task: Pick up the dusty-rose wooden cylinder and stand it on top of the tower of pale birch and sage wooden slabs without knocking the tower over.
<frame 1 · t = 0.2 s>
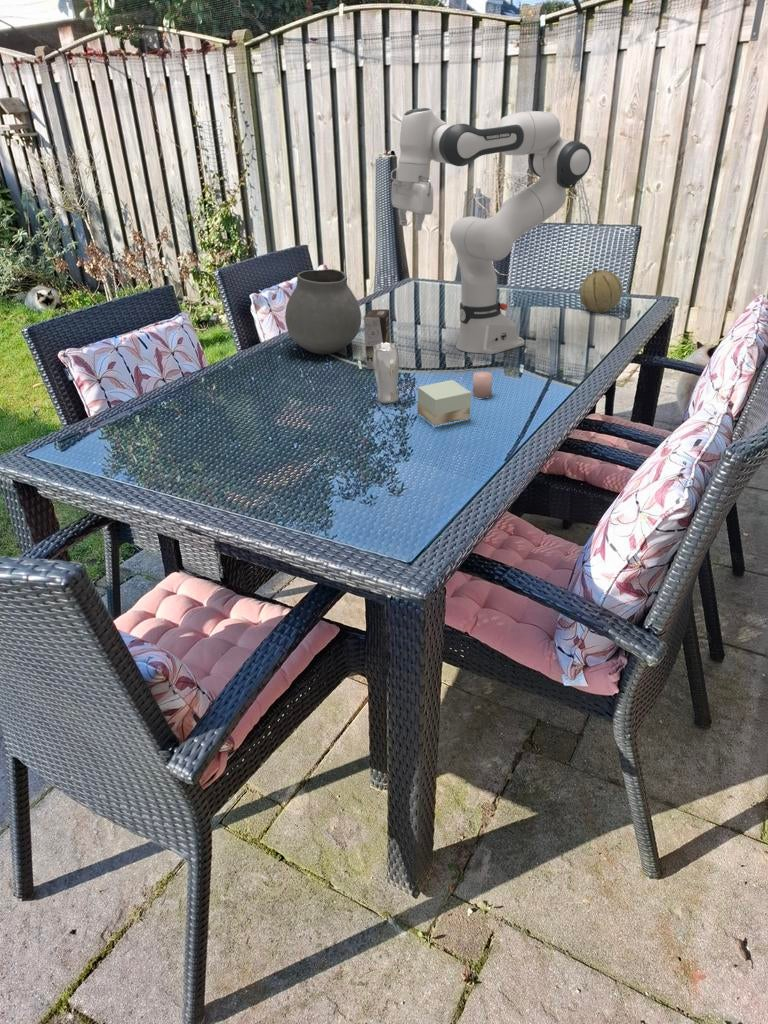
hand: (410, 228, 201), 39 cm above the table, tool pointing down, fingers open, 8 cm apart
tower base: (443, 418, 181), on the table, touching tower top
beer glass: (387, 400, 193), on the table
ceramic pot: (326, 351, 232), on the table
coffee box: (379, 365, 218), on the table
tower top: (444, 404, 179), point 4 cm above the table, touching tower base
cantaloupe: (598, 312, 257), on the table
rose cylinder: (482, 395, 192), on the table
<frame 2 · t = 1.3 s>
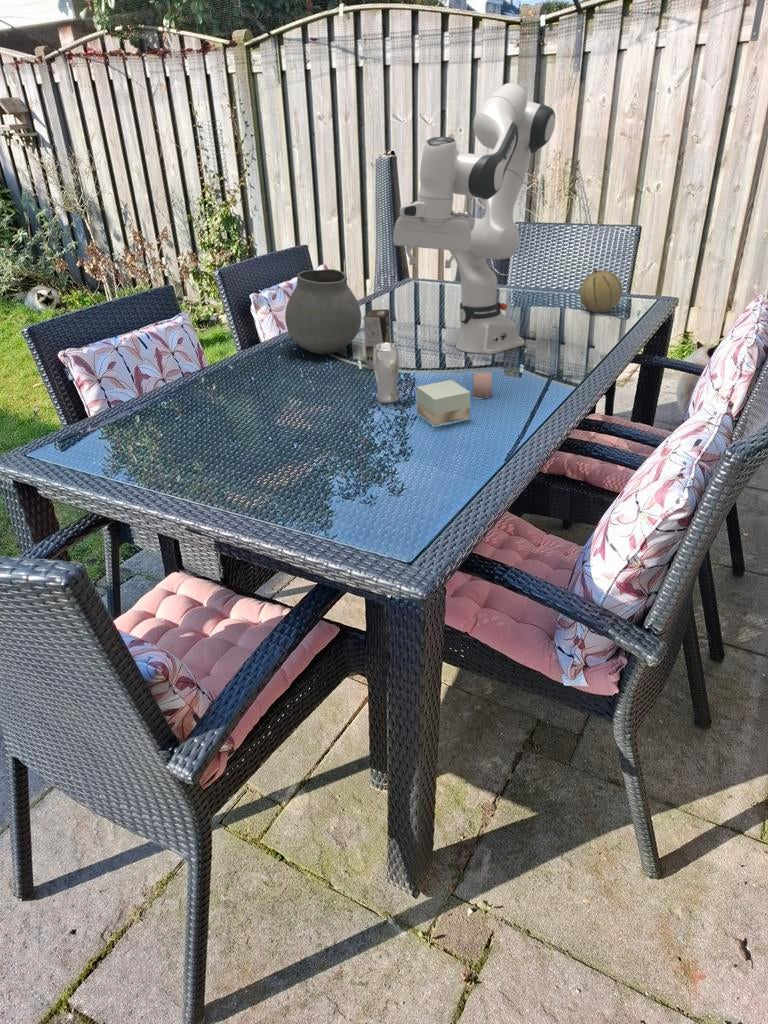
hand: (429, 266, 184), 33 cm above the table, tool pointing down, fingers open, 8 cm apart
nothing on the table moved.
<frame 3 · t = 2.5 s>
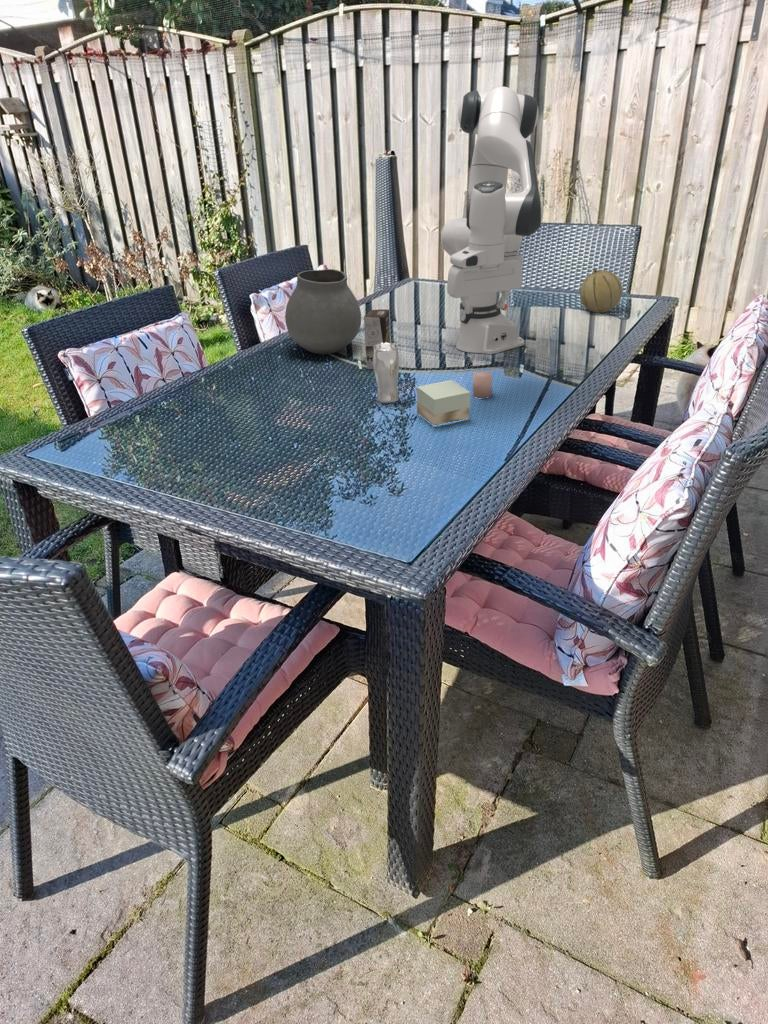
hand: (484, 310, 180), 23 cm above the table, tool pointing down, fingers open, 8 cm apart
tower base: (442, 418, 181), on the table
tower top: (443, 404, 179), point 4 cm above the table
everything else where it was.
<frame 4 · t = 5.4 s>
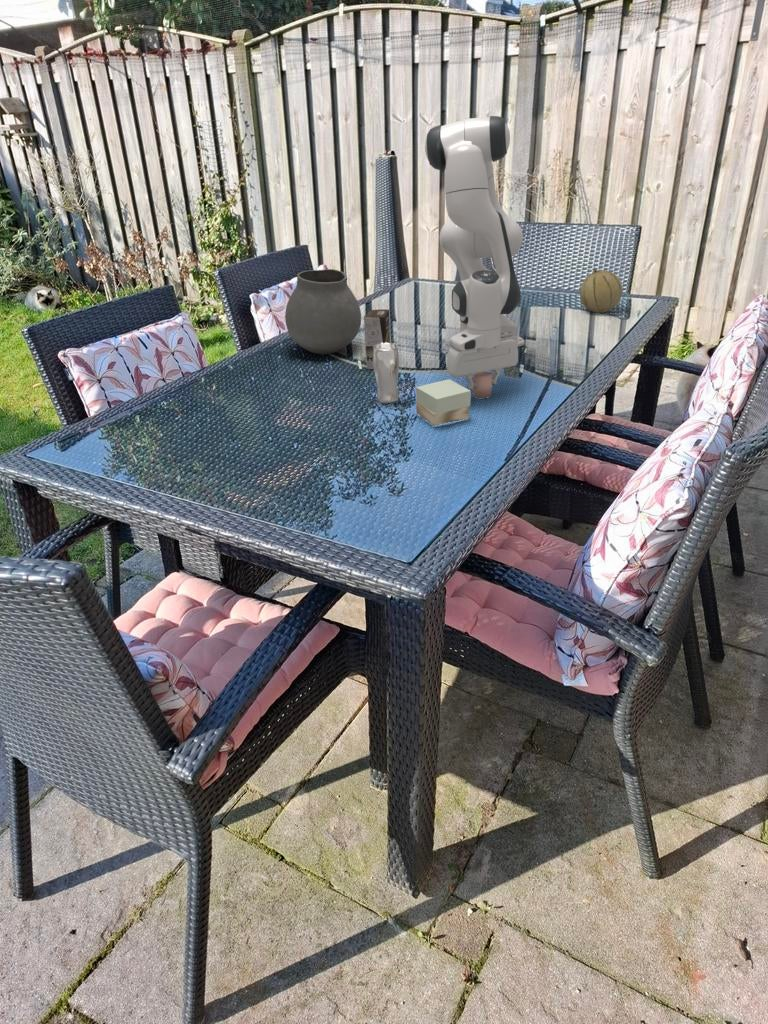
hand: (482, 386, 191), 3 cm above the table, tool pointing down, fingers closed on rose cylinder, 5 cm apart
tower base: (442, 418, 181), on the table, touching tower top
tower top: (443, 403, 179), point 4 cm above the table, touching tower base
rose cylinder: (482, 395, 192), on the table, touching gripper
everything else where it was.
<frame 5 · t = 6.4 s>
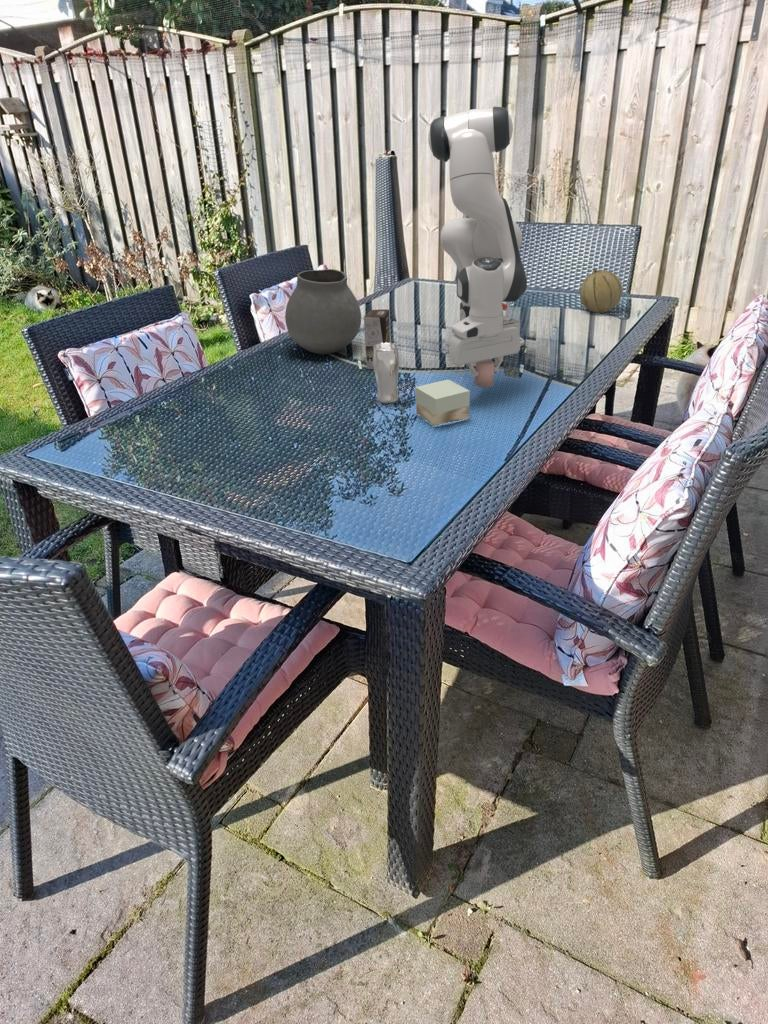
hand: (484, 374, 189), 6 cm above the table, tool pointing down, fingers closed on rose cylinder, 5 cm apart
rose cylinder: (484, 383, 191), point 3 cm above the table, touching gripper
everything else where it was.
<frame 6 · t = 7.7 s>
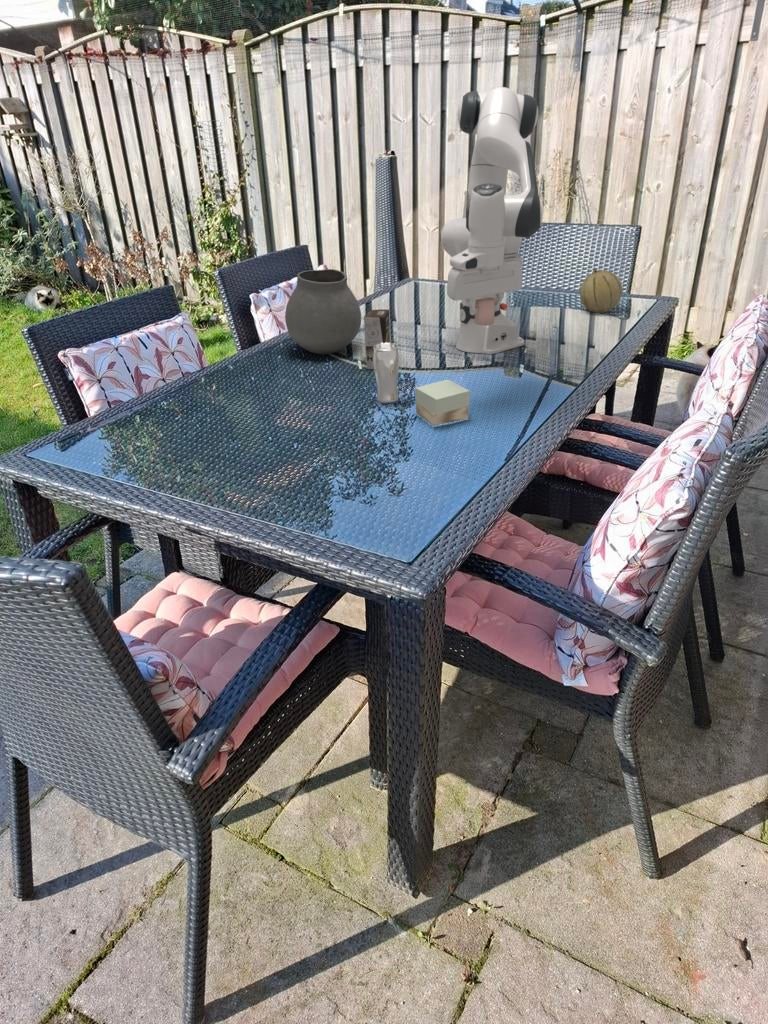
hand: (484, 312, 180), 23 cm above the table, tool pointing down, fingers closed on rose cylinder, 5 cm apart
rose cylinder: (484, 322, 182), point 20 cm above the table, touching gripper
everything else where it was.
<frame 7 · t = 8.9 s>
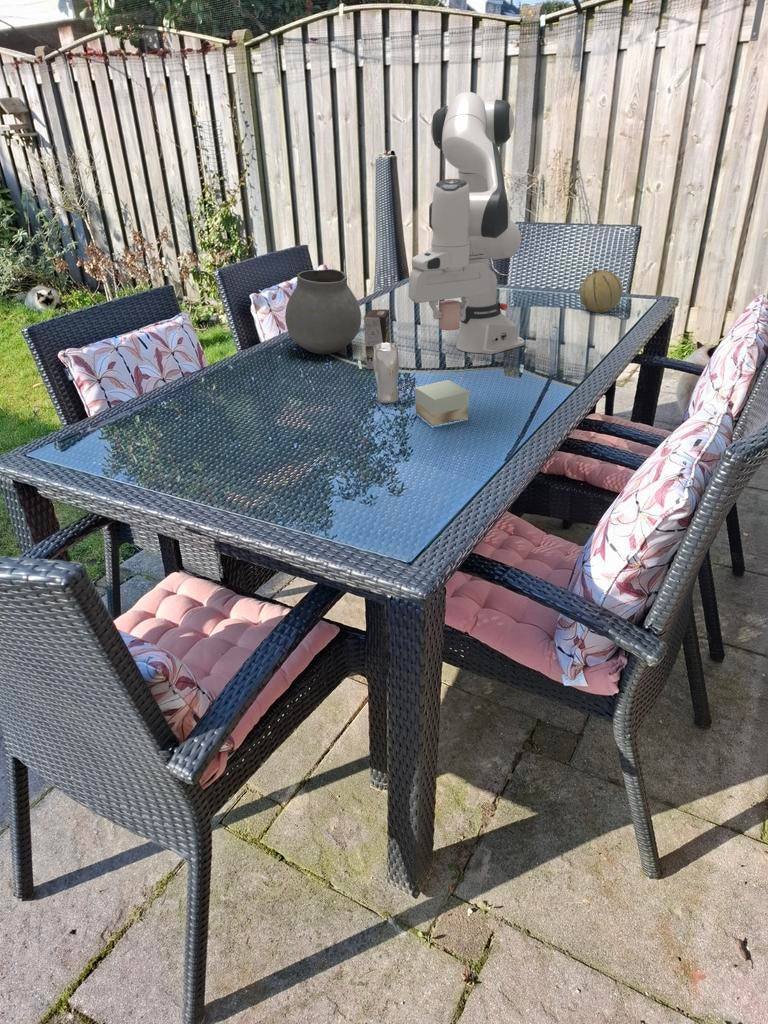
hand: (449, 316, 169), 25 cm above the table, tool pointing down, fingers closed on rose cylinder, 5 cm apart
rose cylinder: (449, 327, 170), point 23 cm above the table, touching gripper
everything else where it was.
when the fingers open (12 cm above the table, at t = 11.7 s): rose cylinder drops 2 cm, resting on tower top.
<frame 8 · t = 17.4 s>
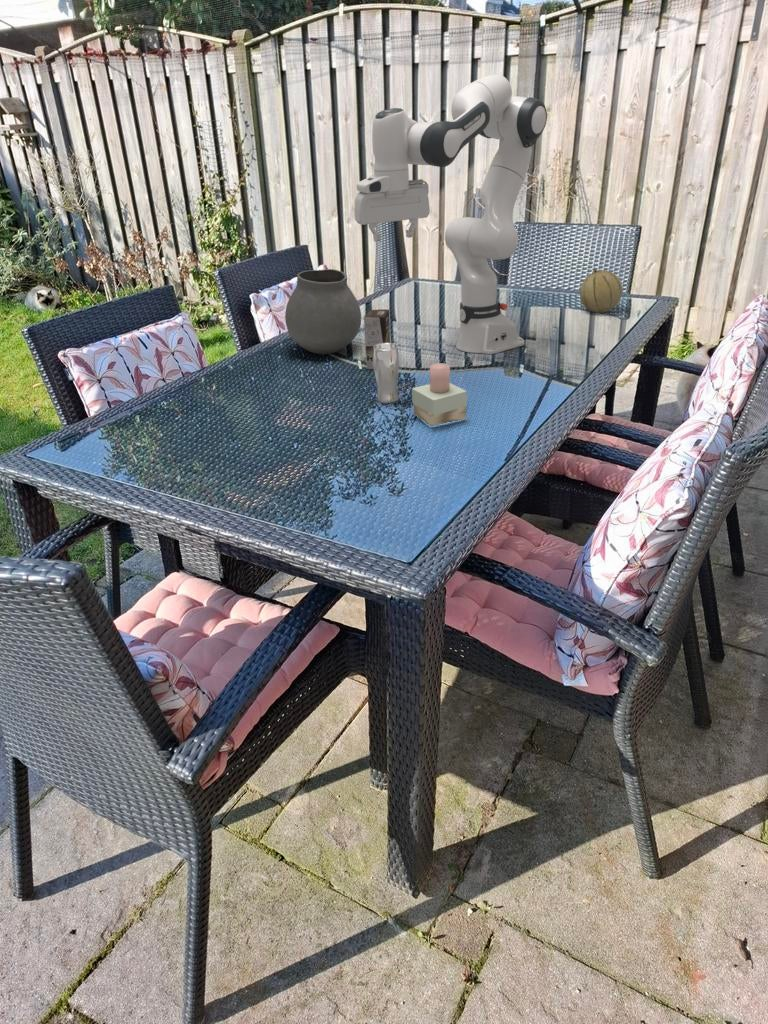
hand: (393, 239, 186), 39 cm above the table, tool pointing down, fingers open, 8 cm apart
tower top: (439, 404, 178), point 4 cm above the table, touching rose cylinder, tower base
rose cylinder: (439, 389, 176), point 8 cm above the table, touching tower top
everything else where it was.
at the end: rose cylinder 0.1 cm off-centre on the tower base, point 8.1 cm above the tower base's base; tower top 0.3 cm off-centre on the tower base, point 4.0 cm above the tower base's base; rose cylinder tilted 1° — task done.
